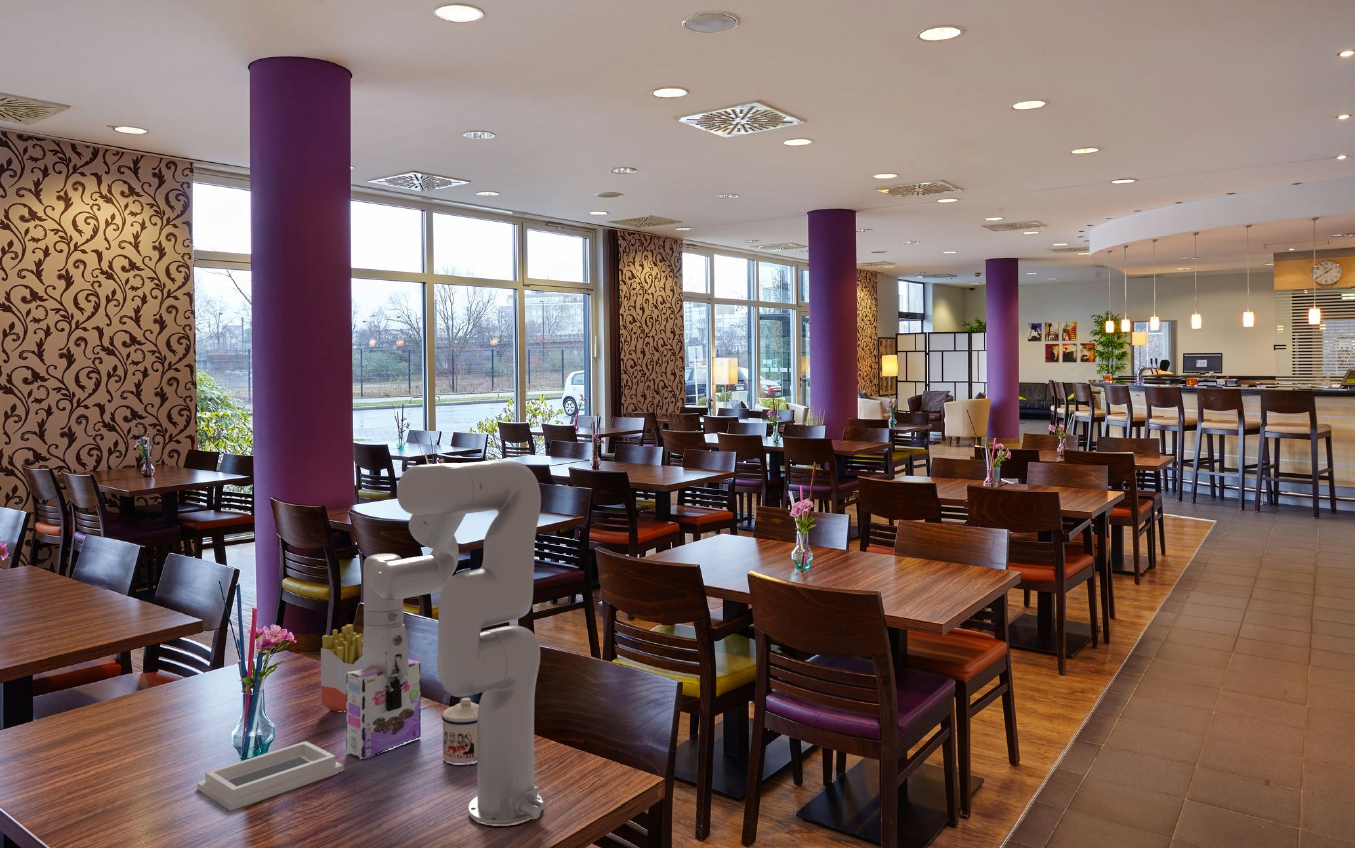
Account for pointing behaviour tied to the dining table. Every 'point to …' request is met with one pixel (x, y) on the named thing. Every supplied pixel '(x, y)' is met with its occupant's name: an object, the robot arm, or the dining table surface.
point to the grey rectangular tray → (268, 775)
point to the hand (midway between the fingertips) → (384, 704)
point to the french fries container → (339, 665)
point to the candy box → (380, 712)
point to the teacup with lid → (460, 732)
